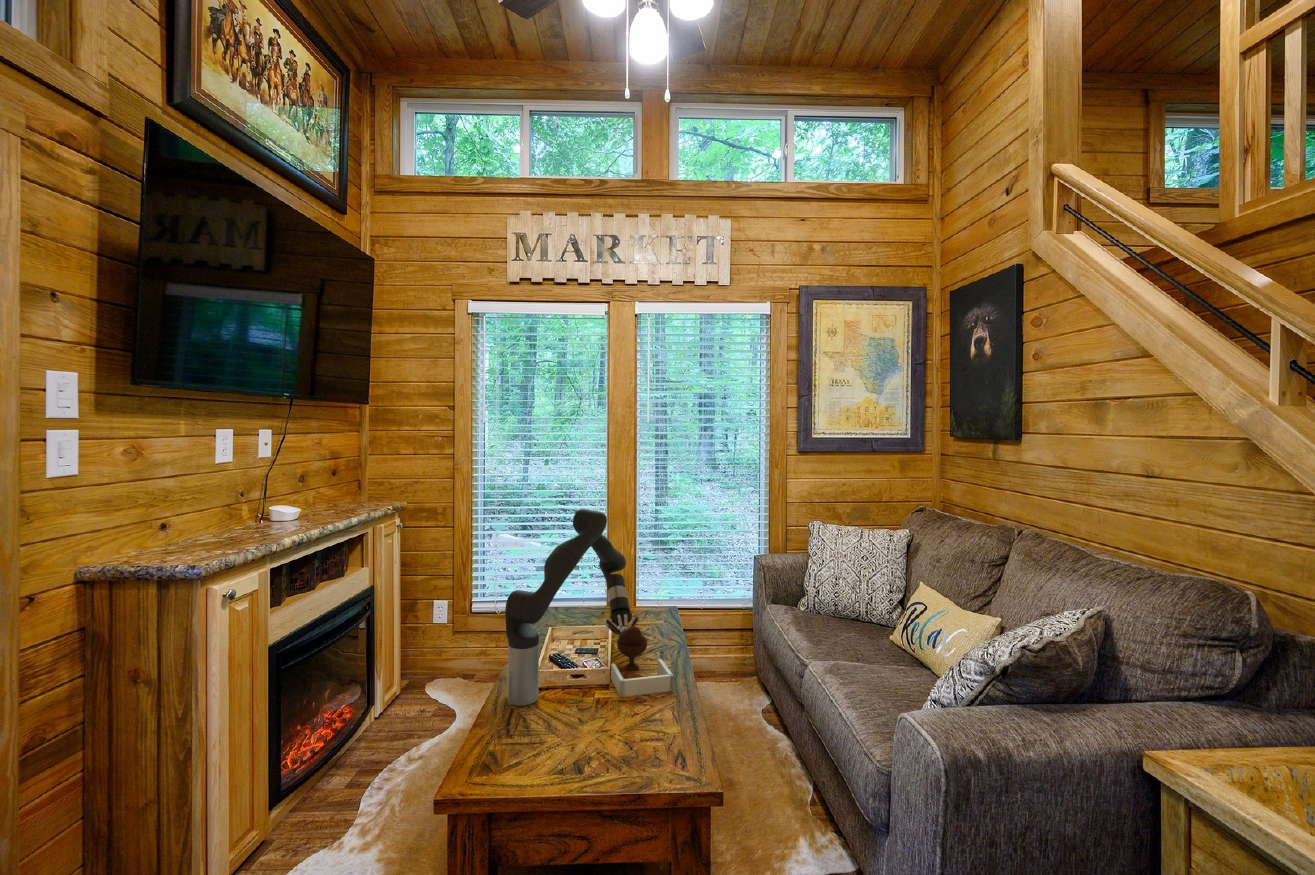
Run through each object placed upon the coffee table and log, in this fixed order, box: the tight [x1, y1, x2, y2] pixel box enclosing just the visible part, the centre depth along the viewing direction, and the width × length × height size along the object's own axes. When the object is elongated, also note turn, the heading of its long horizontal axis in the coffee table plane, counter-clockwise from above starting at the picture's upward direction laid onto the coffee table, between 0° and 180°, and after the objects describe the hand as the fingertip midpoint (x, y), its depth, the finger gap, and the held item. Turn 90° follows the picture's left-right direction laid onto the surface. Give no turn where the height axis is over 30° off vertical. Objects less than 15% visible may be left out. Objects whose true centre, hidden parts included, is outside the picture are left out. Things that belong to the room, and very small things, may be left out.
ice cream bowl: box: [616, 625, 648, 673], centre depth 205 cm, size 11×11×15 cm
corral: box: [610, 658, 675, 698], centre depth 192 cm, size 17×14×5 cm
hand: (625, 644), depth 214 cm, fingers closed
